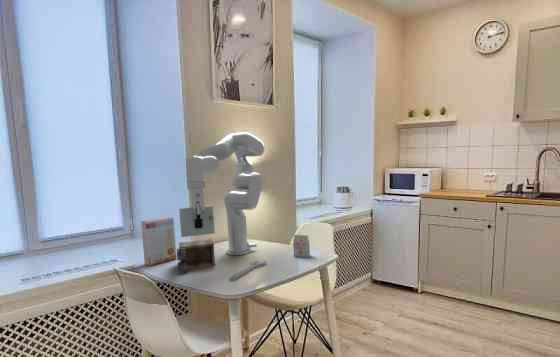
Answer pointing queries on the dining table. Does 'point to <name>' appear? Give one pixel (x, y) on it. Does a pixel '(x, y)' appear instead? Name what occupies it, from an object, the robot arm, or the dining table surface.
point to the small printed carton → (301, 246)
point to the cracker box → (158, 240)
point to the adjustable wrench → (248, 269)
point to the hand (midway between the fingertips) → (198, 227)
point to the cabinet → (195, 255)
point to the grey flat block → (189, 222)
